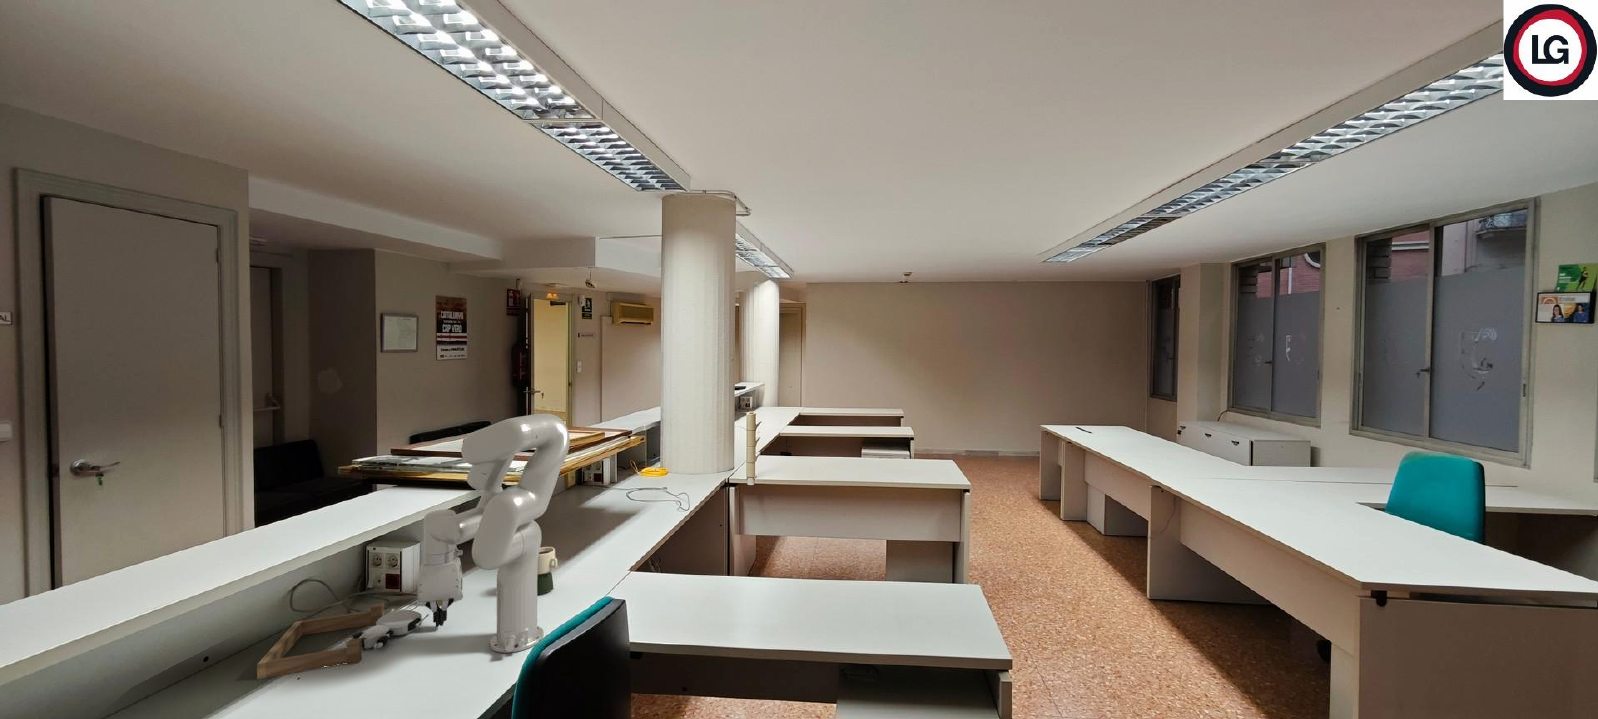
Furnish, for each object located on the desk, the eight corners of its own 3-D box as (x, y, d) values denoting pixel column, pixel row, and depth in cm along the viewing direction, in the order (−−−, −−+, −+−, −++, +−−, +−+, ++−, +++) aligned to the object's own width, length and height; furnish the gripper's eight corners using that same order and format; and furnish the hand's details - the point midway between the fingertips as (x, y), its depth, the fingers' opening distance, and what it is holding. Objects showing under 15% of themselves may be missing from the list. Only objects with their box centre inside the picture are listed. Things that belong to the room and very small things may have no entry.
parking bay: (358, 662, 137) (358, 642, 137) (255, 680, 129) (255, 659, 129) (383, 620, 158) (383, 602, 158) (296, 633, 151) (296, 614, 151)
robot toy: (379, 659, 141) (432, 626, 155) (378, 642, 140) (431, 610, 155) (341, 652, 143) (396, 620, 158) (339, 635, 143) (395, 605, 158)
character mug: (564, 589, 180) (565, 548, 179) (548, 598, 173) (548, 556, 173) (537, 584, 183) (537, 544, 183) (520, 593, 176) (520, 552, 176)
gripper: (473, 548, 160) (473, 613, 160) (410, 555, 154) (410, 622, 154) (470, 557, 153) (470, 625, 154) (403, 565, 147) (403, 635, 147)
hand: (440, 623), depth 154 cm, fingers closed
